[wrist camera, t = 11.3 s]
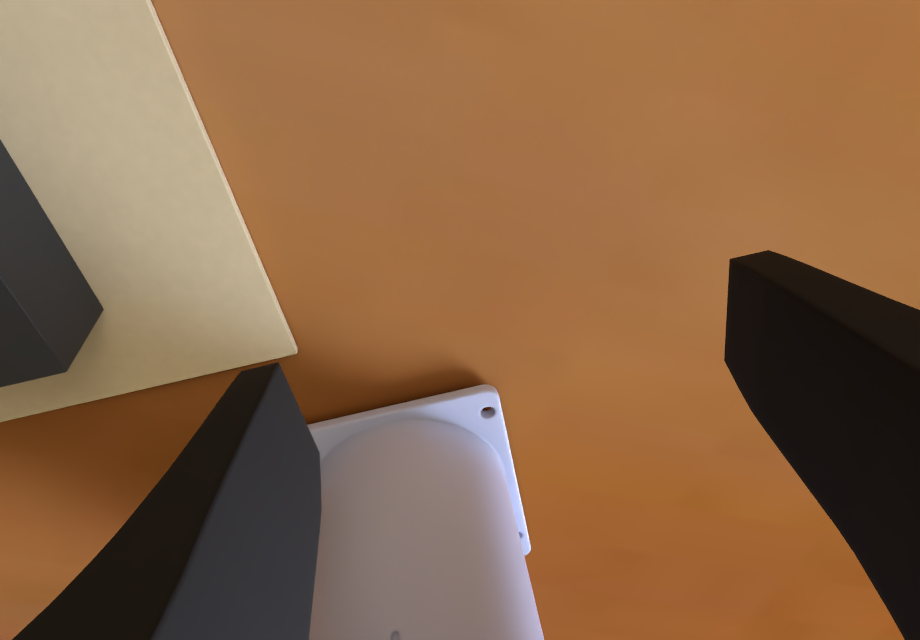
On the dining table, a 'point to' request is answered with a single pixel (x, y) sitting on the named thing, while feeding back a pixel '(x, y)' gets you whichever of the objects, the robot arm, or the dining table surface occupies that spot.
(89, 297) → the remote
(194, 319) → the placemat
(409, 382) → the dining table surface
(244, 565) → the robot arm
